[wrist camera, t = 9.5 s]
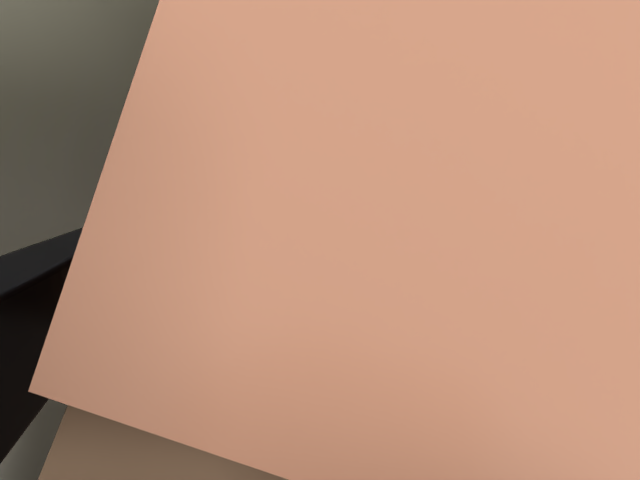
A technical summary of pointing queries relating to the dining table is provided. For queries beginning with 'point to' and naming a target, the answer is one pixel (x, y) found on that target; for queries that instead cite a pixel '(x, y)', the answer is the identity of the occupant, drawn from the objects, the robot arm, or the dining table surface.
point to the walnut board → (131, 454)
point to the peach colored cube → (370, 241)
